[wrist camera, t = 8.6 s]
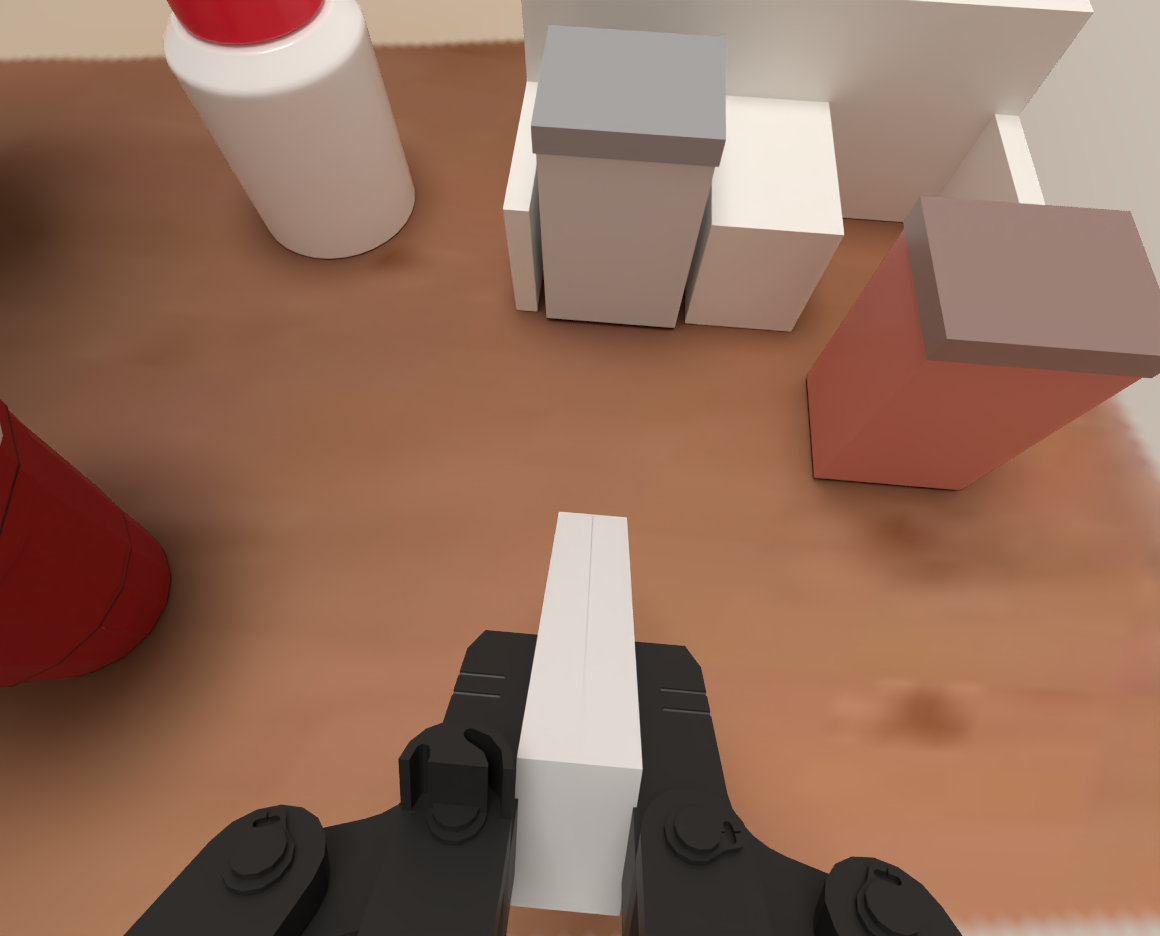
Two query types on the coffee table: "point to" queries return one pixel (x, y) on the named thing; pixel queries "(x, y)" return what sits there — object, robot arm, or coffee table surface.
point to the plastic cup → (67, 567)
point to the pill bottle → (297, 117)
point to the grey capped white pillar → (624, 167)
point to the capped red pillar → (982, 340)
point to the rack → (822, 129)
